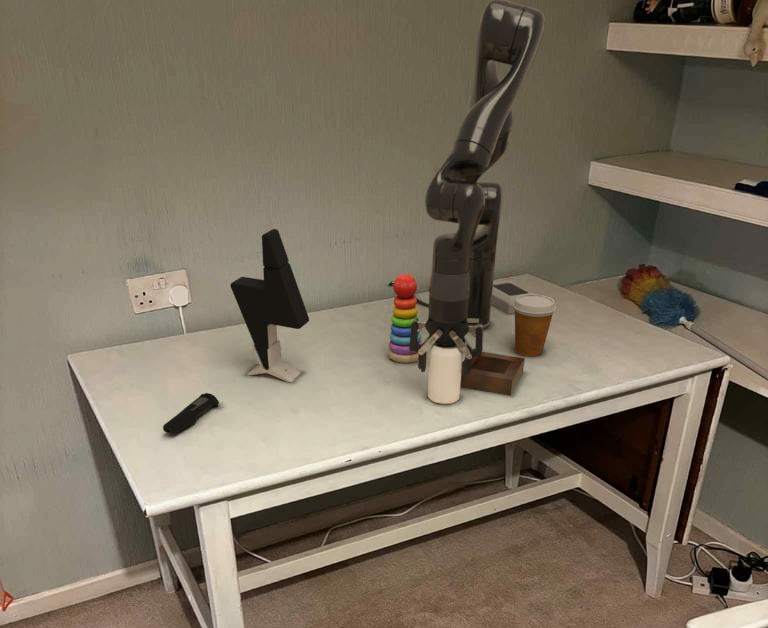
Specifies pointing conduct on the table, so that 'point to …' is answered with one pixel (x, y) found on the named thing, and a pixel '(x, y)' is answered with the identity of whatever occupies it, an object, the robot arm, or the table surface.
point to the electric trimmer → (191, 413)
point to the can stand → (493, 373)
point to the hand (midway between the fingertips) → (444, 372)
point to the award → (271, 307)
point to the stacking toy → (403, 320)
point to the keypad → (506, 295)
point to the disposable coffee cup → (532, 323)
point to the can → (444, 373)
